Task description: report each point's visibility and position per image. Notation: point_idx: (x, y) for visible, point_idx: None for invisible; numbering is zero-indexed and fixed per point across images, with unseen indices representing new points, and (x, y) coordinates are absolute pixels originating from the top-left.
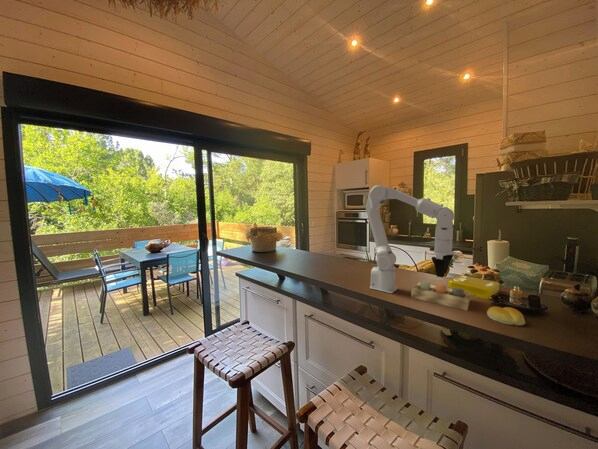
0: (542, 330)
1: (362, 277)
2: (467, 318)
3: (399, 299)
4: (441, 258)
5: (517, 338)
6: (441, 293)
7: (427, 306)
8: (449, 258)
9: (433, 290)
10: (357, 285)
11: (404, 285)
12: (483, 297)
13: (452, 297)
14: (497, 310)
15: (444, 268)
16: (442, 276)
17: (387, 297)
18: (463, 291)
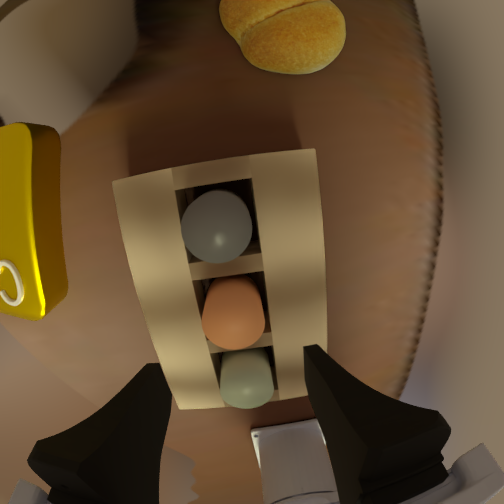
0: None
1: (228, 495)
2: (391, 139)
3: (364, 379)
4: (485, 452)
5: (415, 20)
6: (273, 292)
7: (374, 291)
8: (104, 463)
9: None
10: None
11: (185, 427)
12: (58, 147)
13: (300, 229)
14: (330, 30)
15: (366, 388)
16: (323, 350)
17: None
18: (221, 193)
